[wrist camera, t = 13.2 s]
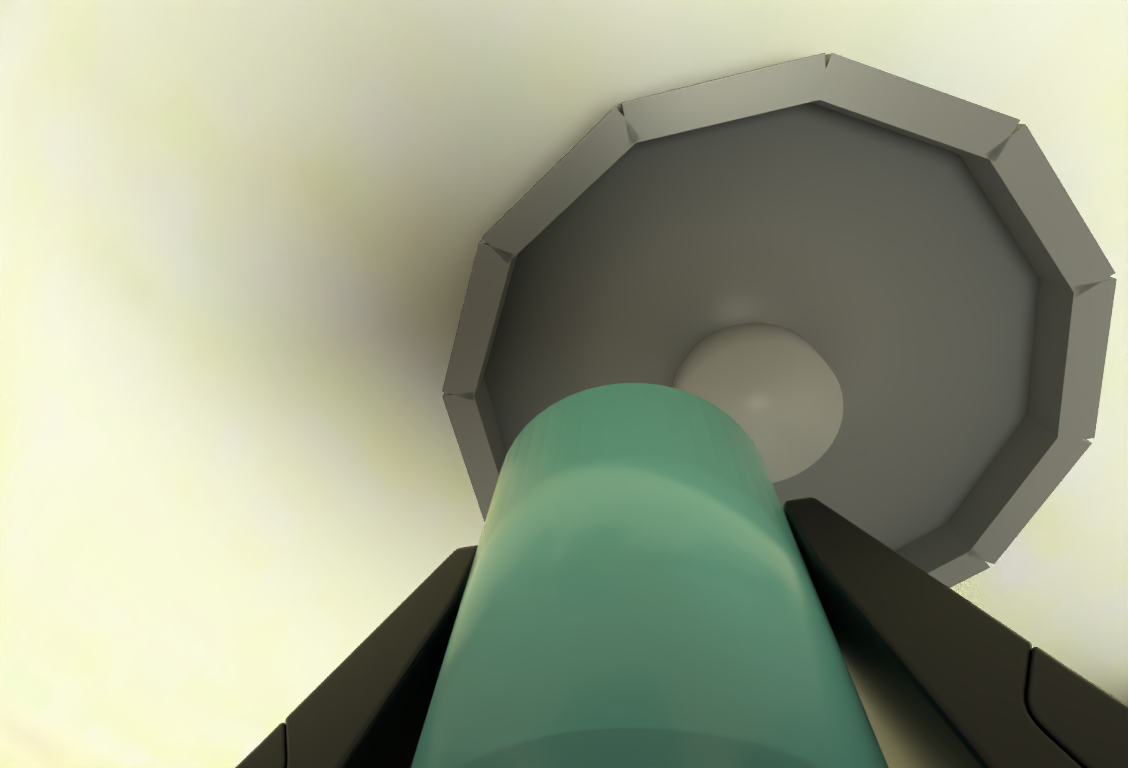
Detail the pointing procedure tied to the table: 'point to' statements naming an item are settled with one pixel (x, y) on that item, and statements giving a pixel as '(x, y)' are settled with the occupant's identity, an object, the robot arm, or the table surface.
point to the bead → (641, 606)
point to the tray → (809, 298)
